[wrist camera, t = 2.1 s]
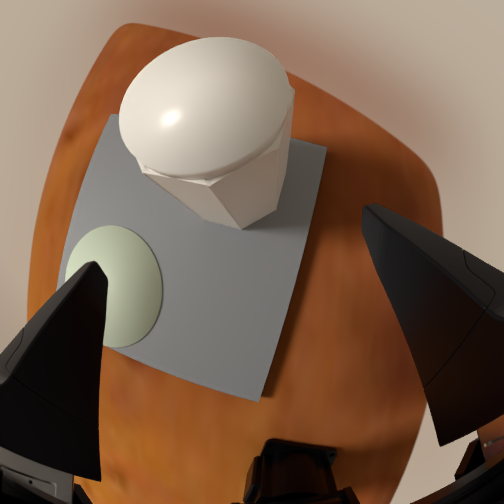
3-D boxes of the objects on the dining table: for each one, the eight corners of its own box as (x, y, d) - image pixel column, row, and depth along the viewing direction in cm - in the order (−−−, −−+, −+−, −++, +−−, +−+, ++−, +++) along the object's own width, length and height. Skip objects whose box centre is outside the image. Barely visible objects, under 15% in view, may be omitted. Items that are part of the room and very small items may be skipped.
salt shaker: (292, 150, 20) (305, 47, 9) (269, 237, 19) (264, 193, 9) (206, 133, 20) (159, 37, 10) (179, 214, 20) (93, 160, 9)
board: (325, 152, 21) (327, 146, 19) (259, 396, 20) (258, 402, 18) (115, 118, 22) (110, 113, 21) (59, 315, 21) (52, 316, 20)
